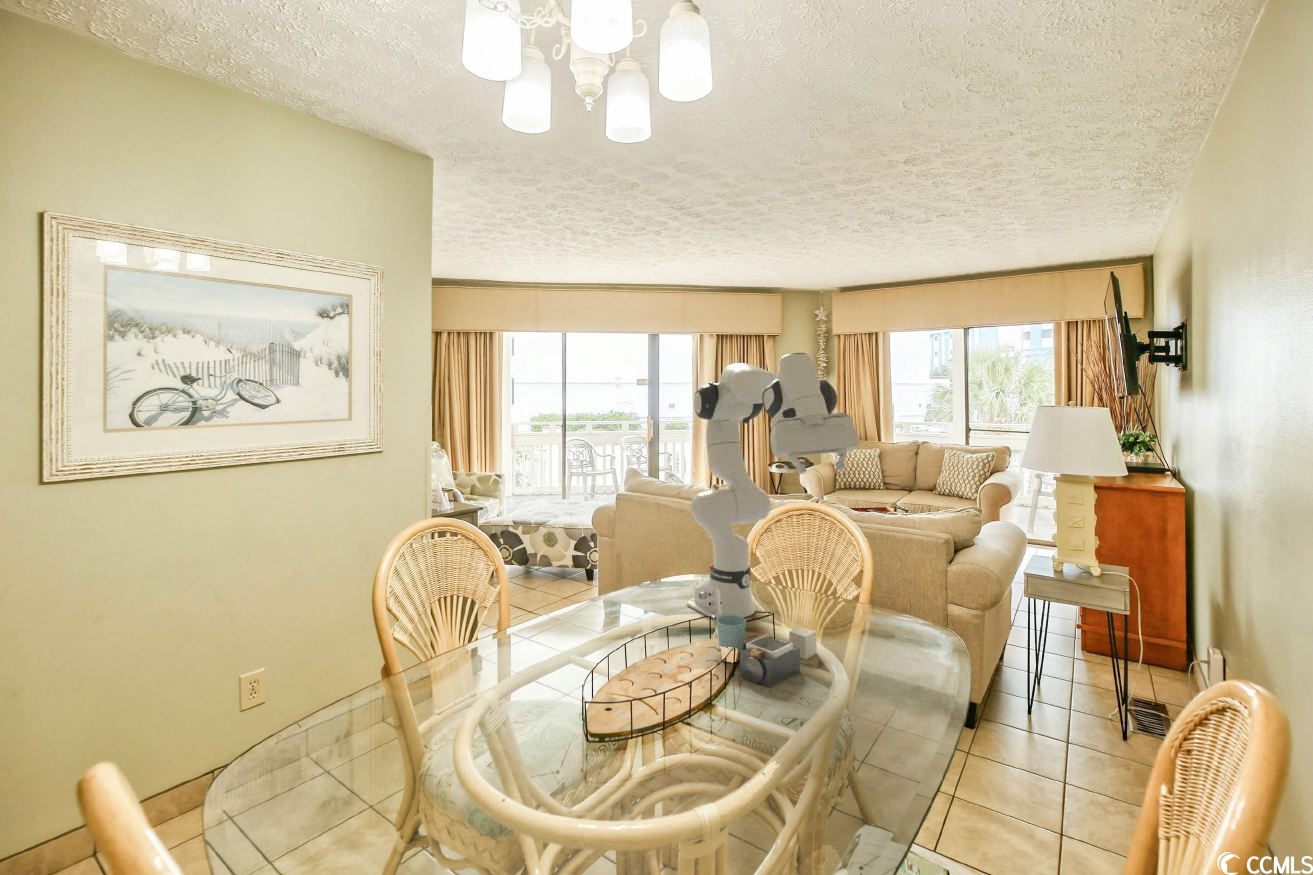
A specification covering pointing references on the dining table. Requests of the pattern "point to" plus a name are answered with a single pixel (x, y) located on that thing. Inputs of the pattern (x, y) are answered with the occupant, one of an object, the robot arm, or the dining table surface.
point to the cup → (731, 631)
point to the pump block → (804, 641)
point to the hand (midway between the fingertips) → (822, 471)
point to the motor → (769, 661)
